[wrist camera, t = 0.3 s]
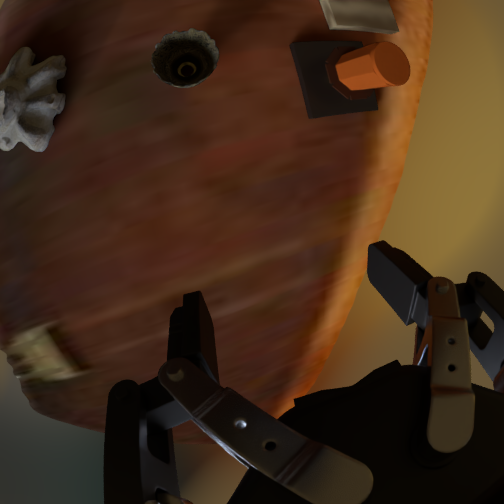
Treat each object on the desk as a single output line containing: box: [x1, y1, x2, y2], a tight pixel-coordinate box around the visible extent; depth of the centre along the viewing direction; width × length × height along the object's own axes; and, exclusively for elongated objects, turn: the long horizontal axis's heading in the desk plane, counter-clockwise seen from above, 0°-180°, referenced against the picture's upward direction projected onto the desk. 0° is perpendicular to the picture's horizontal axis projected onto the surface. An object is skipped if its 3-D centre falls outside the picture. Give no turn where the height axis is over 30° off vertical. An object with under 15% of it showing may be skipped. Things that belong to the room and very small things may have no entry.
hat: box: [325, 42, 410, 100], centre depth 25 cm, size 8×8×9 cm
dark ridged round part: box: [151, 28, 219, 88], centre depth 26 cm, size 8×7×8 cm
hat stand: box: [290, 41, 378, 119], centre depth 27 cm, size 12×12×14 cm
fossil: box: [0, 47, 67, 152], centre depth 23 cm, size 18×11×15 cm
